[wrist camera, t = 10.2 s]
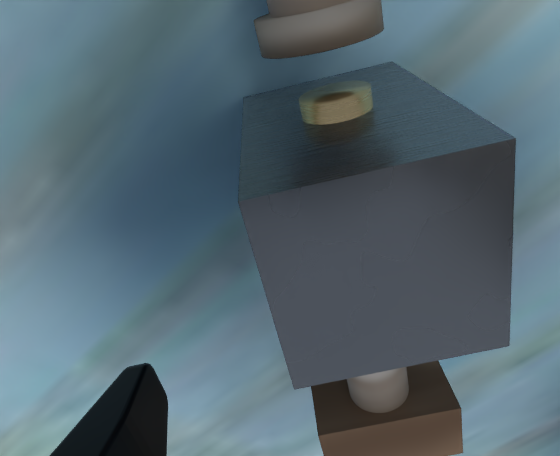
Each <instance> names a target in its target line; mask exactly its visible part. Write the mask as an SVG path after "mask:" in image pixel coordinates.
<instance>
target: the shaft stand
mask: <svg viewBox="0 0 560 456" xmlns="http://www.w3.org/2000/svg"><path fill="white" fill-rule="evenodd" d="M267 5H268V10H269V14H267V15H264V16H261V17H259V18H257V19H255V20H254V25H255V29H256V34H257V38H258V42H259V47H260V51H261V55H262V57H263V58H268V59H281V58H291V57H298V56H305V55H310V54H315V53H320V52H325V51H329V50H333V49H337V48H341V47H344V46H348V45H351V44H354V43H357V42H360V41H363V40H366V39H368V38H371V37H373V36H375V35H377V34H379V33H380V32H382V31H383V29H384V26H383V16H382V6H381V0H267ZM311 389H312V396H313V402H314V409H315V416H316V423H317V430H318V436H319V440H320V443H321V447H322V451H323V454H324V456H449V455H454V454H460V453H463V443H462V418H461V407H460V405H459V403H458V401H457V399H456V397H455V395H454V393H453V390H452V388H451V386H450V384H449V382H448V380H447V378H446V376H445V374H444V372H443V370H442V368H441V366H440V364H439V362H438V360H437V361H432V362H427V363H423V364H418V365H413V366H408V367H403V368H398V369H393V370H388V371H383V372H378V373H373V374H368V375H363V376H358V377H354V378H349V379H344V380H339V381H334V382H329V383H324V384H319V385H314V386H311Z"/></svg>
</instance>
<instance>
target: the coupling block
mask: <svg viewBox="0 0 560 456" xmlns="http://www.w3.org/2000/svg"><path fill="white" fill-rule="evenodd" d="M515 145H516V138H514V137H513V136H511V135H510V134H508V133H506V132H505V131H503V130H501V129H500V128H498V127H497V126H495V125H493V124H492V123H490V122H489V121H487V120H485V119H484V118H482V117H481V116H479V115H477V114H476V113H474V112H472V111H471V110H469V109H468V108H466V107H464V106H463V105H461V104H460V103H458V102H456V101H455V100H453V99H452V98H450V97H448V96H447V95H445V94H444V93H442V92H440V91H439V90H437V89H435V88H434V87H432V86H431V85H429V84H427V83H426V82H424V81H423V80H421V79H419V78H418V77H416V76H415V75H413V74H411V73H410V72H408V71H407V70H405V69H403V68H402V67H400V66H398V65H397V64H395V63H394V62H389V63H385V64H380V65H376V66H372V67H368V68H364V69H360V70H356V71H351V72H347V73H343V74H339V75H335V76H331V77H327V78H322V79H318V80H314V81H310V82H306V83H302V84H298V85H293V86H289V87H285V88H281V89H277V90H273V91H269V92H264V93H260V94H256V95H252V96H248V97H244V98H243V118H242V137H241V156H240V175H239V194H238V203H239V206H240V210H241V213H242V216H243V220H244V223H245V226H246V230H247V233H248V236H249V240H250V243H251V246H252V250H253V253H254V256H255V260H256V263H257V267H258V270H259V273H260V277H261V280H262V283H263V287H264V290H265V293H266V297H267V300H268V303H269V307H270V310H271V313H272V317H273V320H274V323H275V327H276V330H277V333H278V337H279V340H280V343H281V347H282V350H283V353H284V357H285V360H286V363H287V367H288V370H289V373H290V377H291V380H292V383H293V387H294V389H299V388H304V387H309V386H314V385H319V384H324V383H329V382H334V381H339V380H344V379H349V378H354V377H358V376H363V375H368V374H373V373H378V372H383V371H388V370H393V369H398V368H403V367H408V366H413V365H418V364H423V363H427V362H432V361H437V360H442V359H447V358H452V357H457V356H462V355H467V354H472V353H477V352H482V351H487V350H492V349H496V348H501V347H506V346H509V341H510V308H511V275H512V243H513V210H514V177H515Z"/></svg>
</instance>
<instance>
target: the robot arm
mask: <svg viewBox="0 0 560 456" xmlns="http://www.w3.org/2000/svg"><path fill="white" fill-rule="evenodd" d="M167 422H168V400H167V396H166V393H165V390H164V388H163V386H162V384H161V382H160V380H159V378H158V376H157V374H156V372H155V370H154V368H153V367H152V366H151V365H150V364H148V363H143V364H139V365H134V366H130V367H127V368H126V369H125V370H124V371H123V372H122V373H121V374H120V375H119V376H118V377H117V379H116V380H115V381H114V382H113V383H112V384H111V385H110V387H109V388H108V389H107V390H106V391H105V392H104V394H103V395H102V396H101V397H100V398H99V399H98V400H97V402H96V403H95V404H94V405H93V406H92V407H91V409H90V410H89V411H88V412H87V413H86V414H85V416H84V417H83V418H82V419H81V420H80V421H79V422H78V424H77V425H76V426H75V427H74V428H73V429H72V431H71V432H70V433H69V434H68V435H67V436H66V437H65V439H64V440H63V441H62V442H61V443H60V444H59V446H58V447H57V448H56V449H55V450H54V451H53V453H52V454H51V455H50V456H166V454H167Z"/></svg>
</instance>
